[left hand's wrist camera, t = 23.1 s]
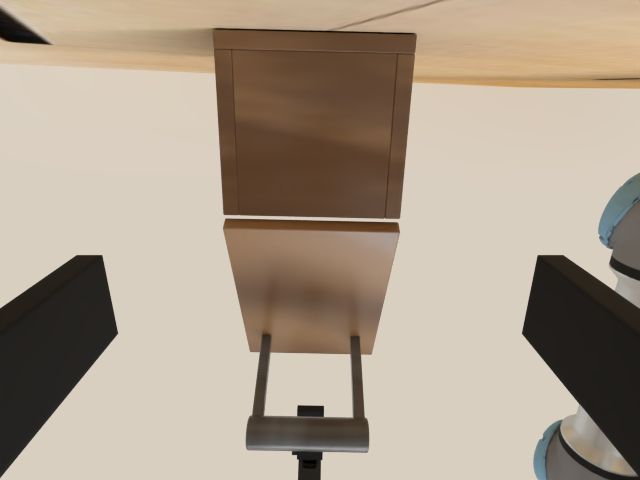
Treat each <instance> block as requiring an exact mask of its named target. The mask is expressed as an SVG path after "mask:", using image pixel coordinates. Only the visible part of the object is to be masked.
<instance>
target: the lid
mask: <svg viewBox="0 0 640 480" xmlns="http://www.w3.org/2000/svg"><path fill="white" fill-rule="evenodd" d="M223 230H224V235H225V240H226V244H227V249H228V253H229V258H230V262H231V267H232V272H233V276H234V281H235V285H236V290H237V294H238V299H239V303H240V308H241V312H242V317H243V322H244V326H245V331H246V335H247V340H248V344H249V349H250V352H260V356H259V364H258V372H257V380H256V388H255V396H254V405H253V413H252V416H250V417H249V419H248V423H247V429H246V448H247V450H263V451H311V452H360V453H367V452H368V450H369V426H368V420H367V418H365V416H364V399H363V382H362V365H361V354H369V355H371V354H372V351H373V346H374V342H375V338H376V333H377V329H378V325H379V320H380V316H381V312H382V307H383V303H384V299H385V294H386V290H387V286H388V281H389V277H390V273H391V268H392V264H393V260H394V255H395V251H396V247H397V243H398V238H399V234H400V230H399V224H398V223H397V222H354V221H311V220H267V219H225V222H224V226H223ZM271 352H276V353H323V354H350V355H351V380H352V404H353V418H345V417H296V416H264V410H265V400H266V391H267V381H268V372H269V362H270V353H271Z"/></svg>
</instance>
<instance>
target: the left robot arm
mask: <svg viewBox="0 0 640 480" xmlns="http://www.w3.org/2000/svg"><path fill="white" fill-rule="evenodd" d="M117 334H118V331H117V326H116V321H115V316H114V311H113V306H112V301H111V296H110V291H109V286H108V281H107V276H106V271H105V267H104V262H103V257H102V255H77V256H75V257H74V258H72V259H71V260H69V261H68V262H66V263H65V264H63V265H62V266H61V267H59V268H58V269H56V270H55V271H53V272H52V273H51V274H49V275H48V276H46V277H45V278H43V279H42V280H41V281H39V282H38V283H36V284H35V285H33V286H32V287H30V288H29V289H28V290H26V291H25V292H23V293H22V294H20V295H19V296H17V297H16V298H15V299H13V300H12V301H10V302H9V303H7V304H6V305H4V306H3V307H2V308H0V478H1V476H2V475H3V474H4V473H5V471H6V470H7V469H8V468H9V467H10V465H11V464H12V463H13V462H14V460H15V459H16V458H17V457H18V455H19V454H20V453H21V452H22V451H23V449H24V448H25V447H26V446H27V444H28V443H29V442H30V441H31V440H32V438H33V437H34V436H35V435H36V433H37V432H38V431H39V430H40V429H41V427H42V426H43V425H44V424H45V422H46V421H47V420H48V419H49V417H50V416H51V415H52V414H53V413H54V411H55V410H56V409H57V408H58V406H59V405H60V404H61V403H62V402H63V400H64V399H65V398H66V397H67V395H68V394H69V393H70V392H71V391H72V389H73V388H74V387H75V386H76V384H77V383H78V382H79V381H80V379H81V378H82V377H83V376H84V375H85V373H86V372H87V371H88V370H89V369H90V367H91V366H92V365H93V364H94V362H95V361H96V360H97V359H98V358H99V356H100V355H101V354H102V353H103V351H104V350H105V349H106V348H107V346H108V345H109V344H110V343H111V342H112V340H113V339H114V338H115V337H116V335H117ZM522 334H523V335H524V337H525V338H526V339H527V340H528V342H529V343H530V344H531V345H532V346H533V348H534V349H535V350H536V351H537V353H538V354H539V355H540V356H541V358H542V359H543V360H544V361H545V362H546V364H547V365H548V366H549V367H550V369H551V370H552V371H553V372H554V373H555V375H556V376H557V377H558V378H559V380H560V381H561V382H562V383H563V384H564V386H565V387H566V388H567V389H568V391H569V392H570V393H571V394H572V395H573V397H574V398H575V399H576V400H577V402H578V403H579V404H580V405H581V407H582V408H583V409H584V410H585V411H586V413H587V414H588V415H589V416H590V418H591V419H592V420H593V421H594V422H595V424H596V425H597V426H598V427H599V429H600V430H601V431H602V432H603V433H604V435H605V436H606V437H607V438H608V440H609V441H610V442H611V443H612V444H613V446H614V447H615V448H616V449H617V451H618V452H619V453H620V454H621V455H622V457H623V458H624V459H625V460H626V462H627V463H628V464H629V465H630V467H631V468H632V469H633V470H634V471H635V473H636V474H637V475H638V476H639V478H640V308H638V307H637V306H635V305H634V304H633V303H631V302H630V301H628V300H627V299H625V298H624V297H623V296H621V295H620V294H618V293H617V292H615V291H614V290H612V289H611V288H610V287H608V286H607V285H605V284H604V283H602V282H601V281H599V280H598V279H597V278H595V277H594V276H592V275H591V274H589V273H588V272H587V271H585V270H584V269H582V268H581V267H579V266H578V265H576V264H575V263H574V262H572V261H571V260H569V259H568V258H566V257H565V256H564V255H538V257H537V262H536V267H535V272H534V276H533V282H532V286H531V291H530V296H529V301H528V306H527V311H526V316H525V321H524V326H523V331H522Z"/></svg>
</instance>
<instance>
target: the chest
mask: <svg viewBox="0 0 640 480" xmlns="http://www.w3.org/2000/svg"><path fill="white" fill-rule="evenodd" d="M416 37H417V36H416V34H377V33H337V32H297V31H256V30H216V29H214V30H213V38H214V57H215V74H216V91H217V109H218V126H219V144H220V161H221V179H222V196H223V213H224V215H252V216H295V217H339V218H386V219H399V218H400V212H401V201H402V190H403V179H404V168H405V157H406V146H407V135H408V124H409V114H410V102H411V92H412V81H413V70H414V59H415V55H414V54H415V48H416Z"/></svg>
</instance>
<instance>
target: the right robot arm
mask: <svg viewBox="0 0 640 480" xmlns="http://www.w3.org/2000/svg"><path fill="white" fill-rule="evenodd" d="M598 233H599V235H600V237H599V239H600V241H601V242H602V244H604V245H605V246H606V247H607V248H610V249H613V252H612V256H611V259H610V263H609V268H610V269H611V270H612V271H613V273H614V274H615V275H616V277H617V278H618V282H617V286H616V289H615V292H617V293H618V294H620V295H621V296H623V297H624V298H625V299H627V300H628V301H630V302H631V303H633V304H634V305H635V306H637V307H638V308H640V173H638V174H637V175H635V176H633V177H632V178H630V179H629V180H628V181H627V182H626V183H625V184H624V185H623V186H621V187H620V188H619V189H618V190H617V191H616V193H615V194H614V195H613V196H612V198H611V199H610V201H609V202H608V204H607V206H606V208H605V210H604V212H603V214H602V216H601V219H600V223H599V228H598ZM297 417H324V406H301V405H298V409H297ZM322 453H323V452H311V451H292V455H297V459H298V460H299V469H298V480H320V478H321V477H320V476H321V460H322ZM533 464H534V471H535V474H536V477H537V479H538V480H640V478H639V476H638V475H637V474H636V473H635V471H634V470H633V469H632V468H631V467H630V465H629V464H628V463H627V462H626V460H625V459H624V458H623V457H622V455H621V454H620V453H619V452H618V451H617V449H616V448H615V447H614V446H613V444H612V443H611V442H610V441H609V440H608V438H607V437H606V436H605V435H604V433H603V432H602V431H601V430H600V429H599V427H598V426H597V425H596V424H595V422H594V421H593V420H592V419H591V418H590V416H589V415H588V414H587V413H586V411H585V410H584V409H583V408H582V407H581V405H580V404H579V407H578V411H577V414H575V415H570V416H568V417H566V418H565V419H564V420H559V421H556V422H555V423H553V424H552V425H551V426H549V427H548V428H547V430H546V431H545V432H544V434H543V438H542V439H540V440H539V442H538V444H537V446H536V450H535V453H534V463H533Z"/></svg>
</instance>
